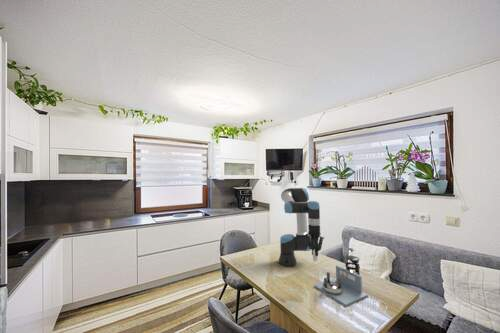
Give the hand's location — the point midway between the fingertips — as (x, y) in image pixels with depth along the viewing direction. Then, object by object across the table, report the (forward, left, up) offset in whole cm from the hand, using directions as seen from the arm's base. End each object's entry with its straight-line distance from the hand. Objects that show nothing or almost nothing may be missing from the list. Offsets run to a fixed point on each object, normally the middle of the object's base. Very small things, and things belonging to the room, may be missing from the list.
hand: (315, 260), depth 132 cm
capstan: (+7, +7, -17) cm, 19 cm away
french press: (+6, +29, -18) cm, 35 cm away
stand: (+9, +11, -18) cm, 23 cm away
